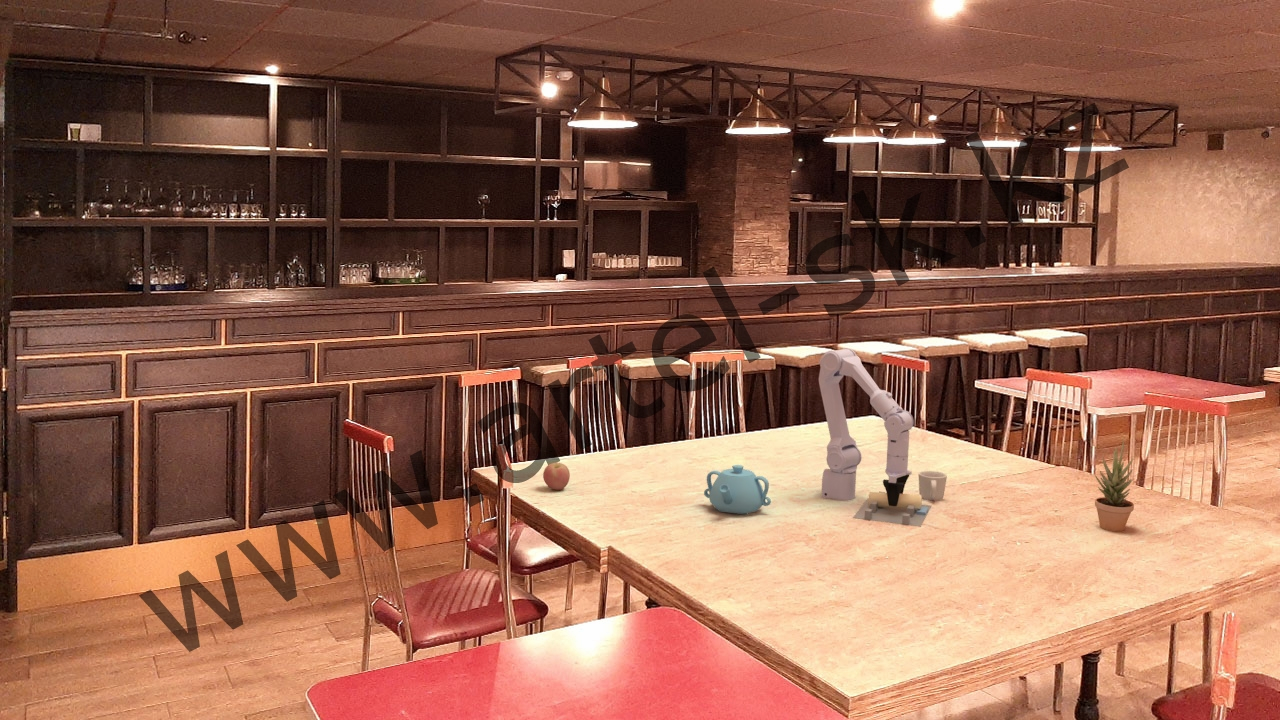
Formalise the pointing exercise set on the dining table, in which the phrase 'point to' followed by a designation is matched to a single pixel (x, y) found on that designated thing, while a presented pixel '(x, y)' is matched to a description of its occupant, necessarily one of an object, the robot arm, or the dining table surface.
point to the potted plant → (1114, 496)
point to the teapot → (737, 491)
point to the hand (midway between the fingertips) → (895, 502)
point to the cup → (932, 485)
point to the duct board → (893, 514)
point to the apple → (556, 476)
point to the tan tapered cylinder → (902, 502)
